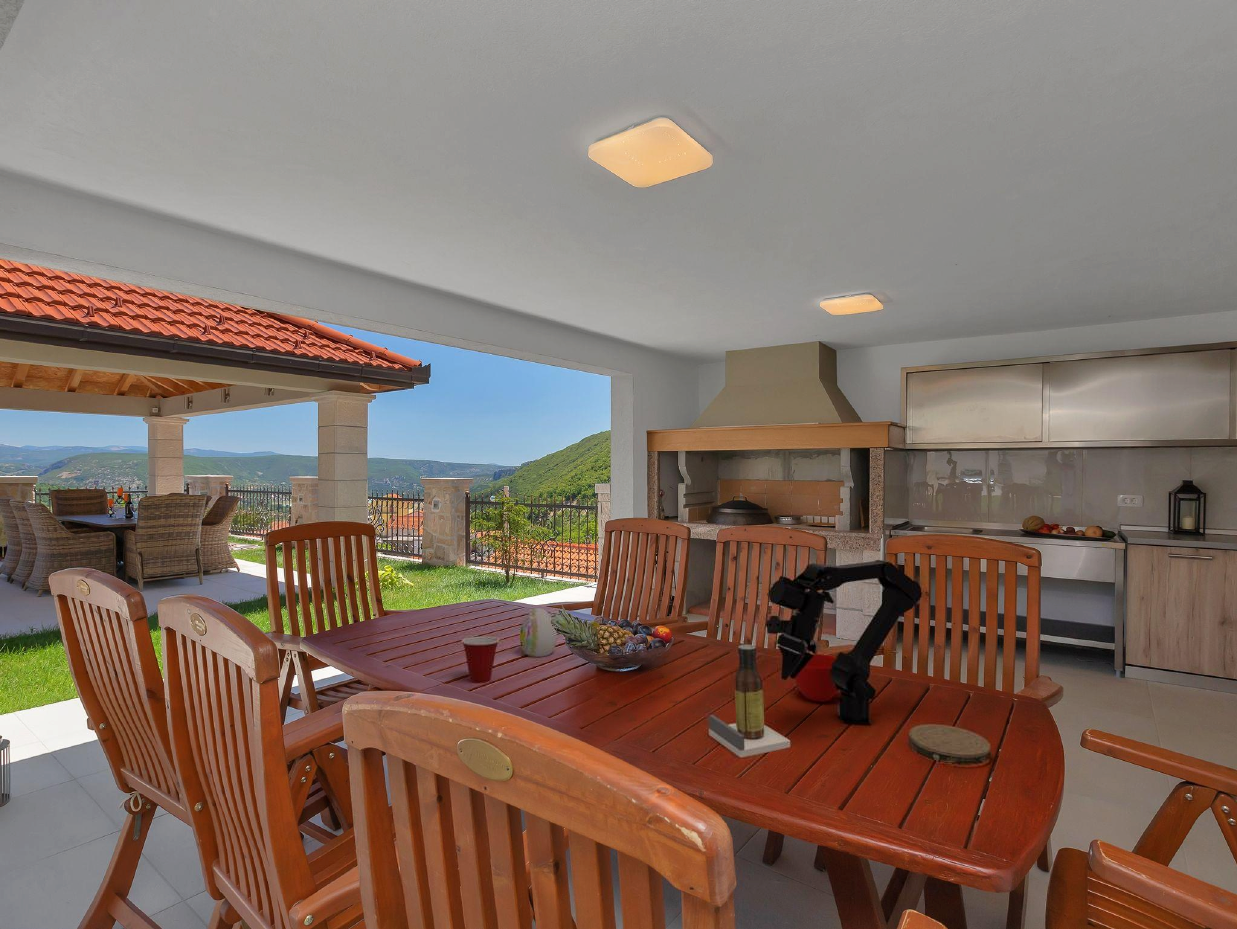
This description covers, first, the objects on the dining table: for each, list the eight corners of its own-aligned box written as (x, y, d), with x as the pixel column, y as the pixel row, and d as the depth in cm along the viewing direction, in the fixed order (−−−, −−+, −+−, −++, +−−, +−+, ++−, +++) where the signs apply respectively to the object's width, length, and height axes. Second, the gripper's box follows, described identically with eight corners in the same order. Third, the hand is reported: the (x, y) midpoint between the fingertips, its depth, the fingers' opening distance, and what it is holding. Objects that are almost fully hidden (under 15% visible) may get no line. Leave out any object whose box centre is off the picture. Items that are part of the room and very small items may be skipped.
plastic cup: (504, 674, 195) (504, 634, 195) (493, 686, 185) (493, 644, 185) (468, 673, 196) (468, 633, 196) (456, 685, 186) (456, 643, 186)
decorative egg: (517, 650, 220) (517, 605, 220) (552, 647, 224) (552, 603, 224) (523, 660, 209) (523, 613, 209) (560, 657, 212) (560, 611, 212)
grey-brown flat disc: (919, 731, 154) (919, 718, 154) (996, 750, 144) (996, 736, 144) (900, 755, 141) (900, 741, 141) (983, 777, 131) (983, 762, 131)
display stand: (755, 725, 156) (755, 706, 156) (790, 747, 144) (790, 727, 144) (708, 734, 151) (708, 715, 151) (740, 757, 139) (740, 736, 139)
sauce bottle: (767, 732, 149) (767, 645, 149) (759, 742, 143) (759, 652, 143) (740, 726, 152) (740, 641, 152) (731, 736, 147) (730, 648, 147)
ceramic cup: (862, 709, 167) (862, 670, 167) (794, 704, 170) (794, 666, 170) (854, 691, 179) (854, 655, 179) (791, 687, 183) (791, 652, 183)
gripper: (784, 606, 168) (765, 664, 166) (766, 601, 152) (745, 666, 150) (826, 621, 163) (808, 682, 161) (813, 618, 146) (792, 685, 145)
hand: (787, 678), depth 154 cm, fingers open, 9 cm apart
